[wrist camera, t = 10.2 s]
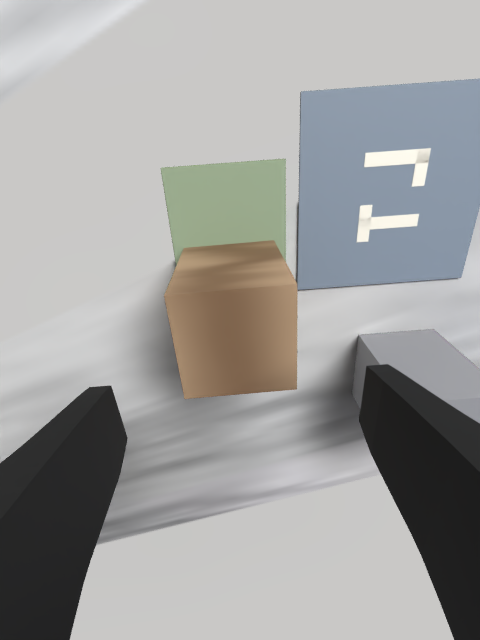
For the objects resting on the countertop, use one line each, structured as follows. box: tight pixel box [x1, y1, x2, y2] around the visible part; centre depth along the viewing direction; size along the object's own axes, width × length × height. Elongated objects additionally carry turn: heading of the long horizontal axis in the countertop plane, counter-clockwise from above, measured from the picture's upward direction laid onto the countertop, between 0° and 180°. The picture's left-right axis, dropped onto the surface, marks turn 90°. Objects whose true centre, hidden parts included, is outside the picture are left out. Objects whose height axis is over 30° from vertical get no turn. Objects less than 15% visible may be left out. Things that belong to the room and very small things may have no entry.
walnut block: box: [164, 240, 297, 399], centre depth 15 cm, size 4×4×6 cm
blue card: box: [297, 79, 480, 290], centre depth 16 cm, size 9×9×1 cm
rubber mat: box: [161, 159, 286, 266], centre depth 18 cm, size 6×12×1 cm, turn 4°
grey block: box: [352, 329, 480, 423], centre depth 18 cm, size 4×4×6 cm
